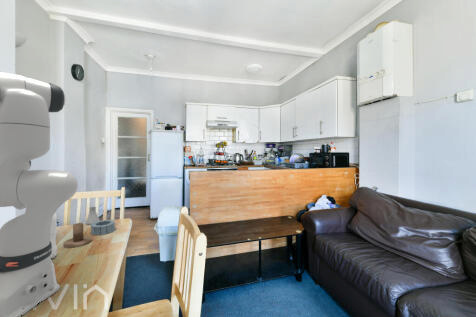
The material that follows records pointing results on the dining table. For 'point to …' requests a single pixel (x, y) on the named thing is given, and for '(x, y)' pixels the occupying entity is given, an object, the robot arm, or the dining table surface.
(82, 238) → the walnut lid
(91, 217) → the flask
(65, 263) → the dining table surface
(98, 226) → the slate-blue bowl
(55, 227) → the water bottle
